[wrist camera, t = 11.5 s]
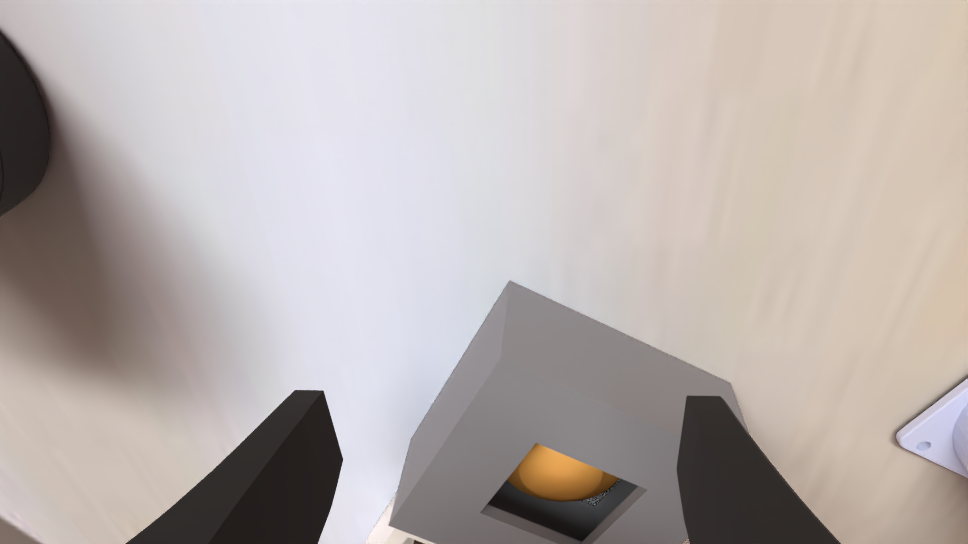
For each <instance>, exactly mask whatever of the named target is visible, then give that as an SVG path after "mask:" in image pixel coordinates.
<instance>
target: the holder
mask: <svg viewBox="0 0 968 544" xmlns="http://www.w3.org/2000/svg"><path fill="white" fill-rule="evenodd" d="M396 494H397V492H396ZM396 494H395V495H394V497H393V499H392V500H391V502H390V503H389V505H388V506H387V508H386V509H385V511H384V512H383V514H382V515H381V517H380V519H379V520H378V522H377V523H376V525H375V526H374V528H373V529H372V531H371V532H370V534H369V536H368V538H367V541H366V544H413V543H414V540H417V541H419V542H422V543H425V544H435V543H433V542H430V541H427V540H425V539H422V538H420V537H417V536H414V535H412V534H409V533H406V532H404V531H401V530H398V529H396V528H393V527H391V526H388V525H389V521H390V517H391V513H392V510H393V506H394V502H395V498H396Z"/></svg>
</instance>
